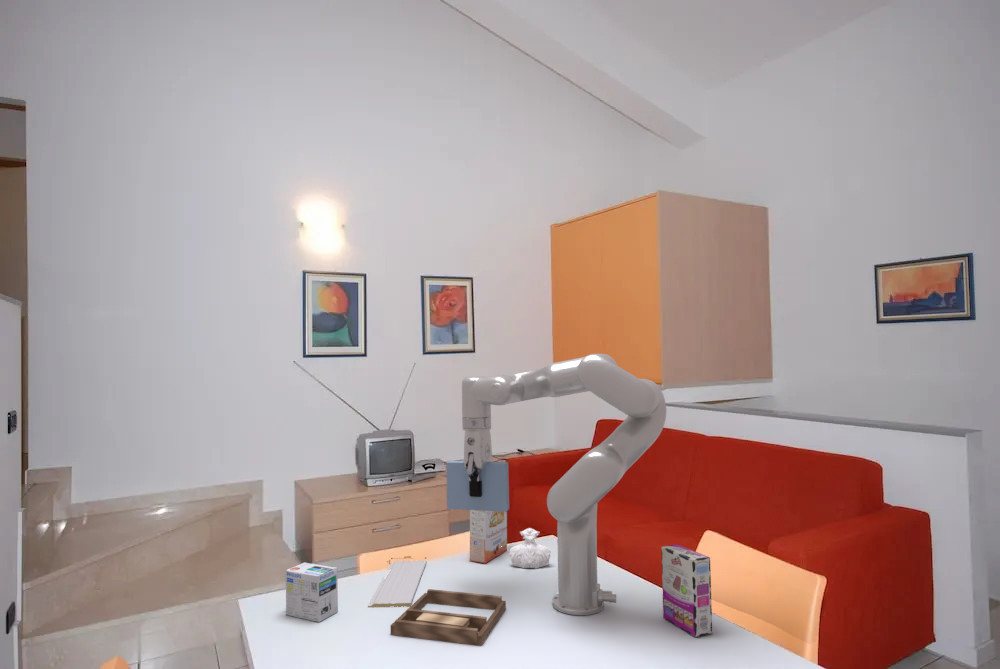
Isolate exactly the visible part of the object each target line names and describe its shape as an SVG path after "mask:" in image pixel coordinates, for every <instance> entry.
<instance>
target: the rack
mask: <svg viewBox="0 0 1000 669" xmlns="http://www.w3.org/2000/svg"><path fill="white" fill-rule="evenodd" d="M433 603H435V604H434V605H436V604H437V605H442V606H443V605H446V606H453V607H454V606H455V607H461V608H462V607H464V608H473V609H474V608H475V609H482V610H492V611H493V612H492V613H491V614H490V616H489V617H487V616H481V615H473V614H472V615H470V614H465V613H453V612H445V611H444V612H443V611H436V610H435V611H434V610H425V609H423V608H424V607H425V606H426V605H427V604H433ZM506 603H507V602H506V600H503V598H502V595H493V594H483V593H471V592H462V591H451V590H440V589H432V588H429V589H427V591H426V592H424V593H423V594H422V595H420V597H419V598H418V599H417V600H415V602H414V603H412V604H411V606H410V607H407V609H406V610H405V611H404V612H403V613H402V614H401V615H400V616H399V617H397V618H396V619H395V620H394V621H393V622H392V624H390V625H389V626H390V629H389V630H390V635H391V636H398V637H407V638H413V639H414V638H415V639H423V640H430V641H437V642H438V641H439V642H448V643H453V644H454V643H457V644H463V645H471V646H482V645H483V644H484V642H485V641H486V639H487V638H488V636H489V635H490V634H491V632H492V631H493V630H494V627H496V625H497V624H498V622H499V620H500V618H501V617H502V616H503V614H504V612H506V610H507V608H506V607H507V604H506ZM423 613H430V614H438V615H445V616H453V617H460V618H468V619H469V621H470V624H469V625H468V626H467V627H459V626H450V625H441V624H433V623H424V622H416V619H417V618H418V617H419V616H420V615H422V614H423Z"/></svg>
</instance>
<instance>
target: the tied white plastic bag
mask: <svg viewBox="0 0 1000 669" xmlns="http://www.w3.org/2000/svg"><path fill="white" fill-rule="evenodd" d="M519 534H520V535H521V537H522V540H524V542H523V543H519V544H517V545H515V546H512V547H511V548H510V549H509V552H508V553H509V558H510V561H511V564H512V565H513V566H514V567H517V568H522V569H536V570H537V569H539V568H543V567H546V566H548V564H549V563H550V559H551V549H550V548H549V547H548V546H544V545H543V544H540V543H536V541H535V540H537V539H538V536H539V535H540V531H538V530H535V529H534V528H532V527H528V528H526V529H524V530H522V531H519Z"/></svg>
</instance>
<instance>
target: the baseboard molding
mask: <svg viewBox="0 0 1000 669" xmlns="http://www.w3.org/2000/svg"><path fill="white" fill-rule="evenodd" d="M393 559H394V560H395V561H394V562H391V560H393ZM396 559H397V560H396ZM398 559H399V560H400V559H403V560H401V561H399V560H398ZM404 559H406V560H404ZM407 559H412V556H409V555H408V556H404V557H403V558H401V557H398V558H397V557H396V558H395V557H394V558H393V557H391V559H389V560H388V561H386V562H387V564H389V566H388V568H387V570H390V569H391V571H390V572H389V574H388V575H387V577H386V579H384V576H383V577H382V580H381V581H380V583H379V585H378V587H377V588H376V590H375V592H374V594H373V596H372V598H371V599H370V601H369V603H368V605H367V608H391V607H390V606H394V607H393V608H405V607H404V606H407V607H406V608H409V607H411V606H412V604H413V603H412V602H413V600H414V597H415V595H416V592H417V590H418V587H419V585H420V581H421V579H420V578H422V576H423V573H424V571H423V570H425V568H424V567H426V565H427V560H426V559H427V557H424V559H425V560H408V561H407ZM425 564H426V565H425ZM421 575H422V576H421ZM416 589H417V590H416ZM397 606H398V607H397ZM401 606H403V607H401Z"/></svg>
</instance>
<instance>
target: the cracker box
mask: <svg viewBox="0 0 1000 669" xmlns="http://www.w3.org/2000/svg"><path fill="white" fill-rule="evenodd" d="M507 527H508V511H507V512H500V511H480V510H469V561H470V562H476V563H480V564H487V563H488V562H490V561H492V560H494V559H495V558H496V557H498V556H500V555H502V554H503V552H504V553H505V552H507V550H508V528H507ZM501 546H502V547H501Z"/></svg>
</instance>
